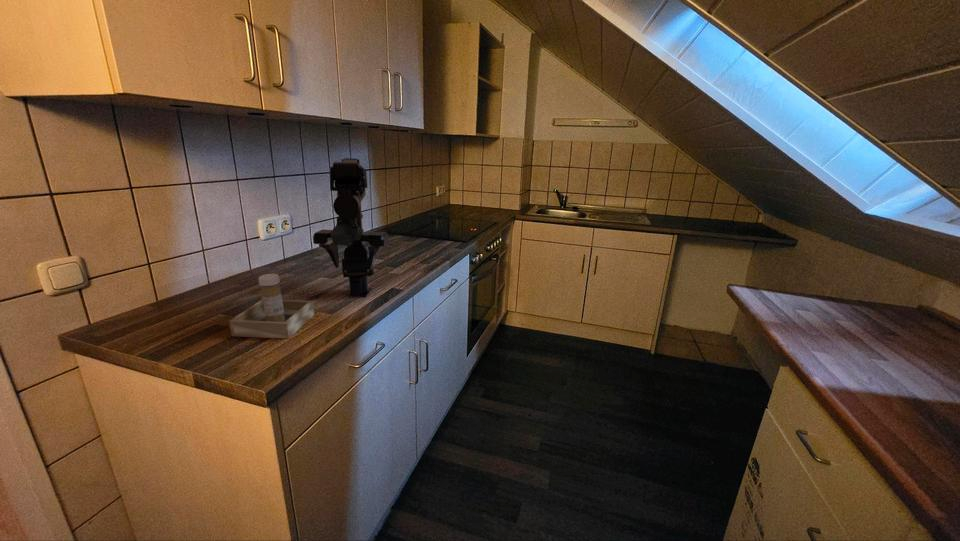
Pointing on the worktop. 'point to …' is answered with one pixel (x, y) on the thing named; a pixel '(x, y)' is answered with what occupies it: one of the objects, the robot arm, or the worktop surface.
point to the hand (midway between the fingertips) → (353, 268)
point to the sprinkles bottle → (272, 297)
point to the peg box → (257, 326)
